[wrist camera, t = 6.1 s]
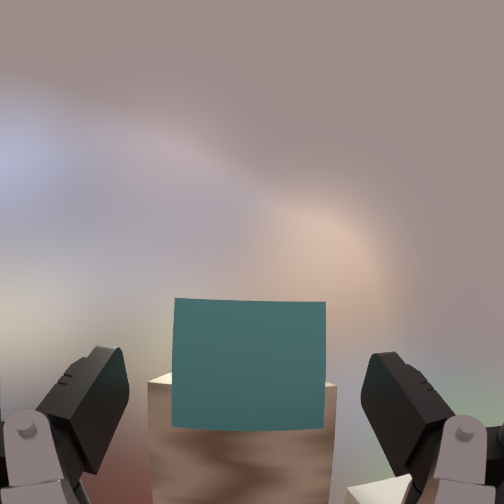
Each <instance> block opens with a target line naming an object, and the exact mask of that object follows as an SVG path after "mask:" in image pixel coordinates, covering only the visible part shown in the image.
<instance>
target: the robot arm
mask: <svg viewBox="0 0 504 504" xmlns="http://www.w3.org/2000/svg"><path fill="white" fill-rule="evenodd" d="M128 399H129V383H128V379H127V374H126V369H125V364H124V358H123V353H122V351H121V349H120V348H118V347H111V346H104V345H97V346H96V347H95V348H94V349H93V351H92V352H91V353H90V355H89V356H88V357H87V358H85V357H83V358H81V359H79V360H78V361H76V362H74V363H73V364H71V365H70V367H69V368H68V369H67V370H66V371H65V373H64V376H61V378H60V379H59V380H58V383H56V384H55V385H54V386H53V388H52V389H51V390H50V391H49V393H48V394H47V395H46V397H45V398H44V399H43V401H42V402H41V403H40V405H39V406H38V407H37V409H36V410H22V411H18V412H16V413H14V414H12V415H11V416H10V417H9V418H8V419H7V420H6V422H3V421H1V411H0V504H91V503H90V501H89V499H88V497H87V494H86V492H85V490H84V487H83V485H82V482H81V481H80V477H81V475H82V472H83V471H84V472H87V473H91V474H94V475H97V472H98V470H99V467H100V465H101V463H102V460H103V458H104V456H105V453H106V451H107V449H108V446H109V444H110V442H111V439H112V437H113V434H114V432H115V430H116V428H117V426H118V423H119V421H120V419H121V417H122V414H123V412H124V410H125V408H126V406H127V403H128ZM361 405H362V408H363V410H364V412H365V414H366V416H367V418H368V420H369V422H370V424H371V426H372V428H373V430H374V432H375V434H376V437H377V439H378V441H379V443H380V445H381V447H382V449H383V451H384V453H385V455H386V457H387V460H388V462H389V464H390V466H391V468H392V470H393V472H394V474H395V476H396V477H399V476H403V475H406V474H410V475H411V477H412V479H411V481H410V482H409V484H408V486H407V489H406V492H405V494H404V497H403V500H402V502H401V504H504V423H503V425H502V426H497V427H486V428H485V427H484V425H483V424H482V423H481V422H480V421H479V420H477V419H476V418H474V417H471V416H468V415H455V414H454V412H453V411H452V410H451V409H450V407H449V406H448V405H447V404H446V403H445V401H444V400H443V399H442V397H441V396H440V395H439V394H438V393H437V391H436V390H434V388H433V387H432V385H431V384H430V383H428V381H427V379H426V378H425V377H424V376H423V375H422V373H421V372H420V371H418V370H416V369H415V368H413V367H412V366H410V365H408V364H405V363H404V361H403V360H402V359H401V358H400V357H399V356H398V354H397V353H396V352H385V353H375V354H373V355H372V356H371V358H370V361H369V365H368V368H367V372H366V376H365V379H364V383H363V387H362V391H361Z"/></svg>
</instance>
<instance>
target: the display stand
mask: <svg viewBox="0 0 504 504" xmlns="http://www.w3.org/2000/svg"><path fill="white" fill-rule="evenodd" d="M336 397H337V386H336V385H333V384H331V383H328V382H326V381H325V409H324V428H318V429H305V430H287V431H223V430H205V429H192V428H181V427H172V372H171V373H168V374H166V375H163V376H161V377H159V378H156V379H153V380H151V381H148V436H149V456H150V472H151V484H152V495H153V504H328V500H329V491H330V483H331V473H332V462H333V450H334V437H335V419H336Z"/></svg>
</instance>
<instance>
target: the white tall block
mask: <svg viewBox="0 0 504 504" xmlns="http://www.w3.org/2000/svg"><path fill="white" fill-rule="evenodd" d="M411 479H412V477H411V475H410V474H406V475H403V476H399V477H394V478H390V479H386V480H382V481H377V482H373V483H368V484H364V485H359V486H353V487H348V488H346V493H345V501H344V504H401V502H402V500H403V497H404V494H405V492H406V489H407V486H408V484H409V482H410V481H411Z"/></svg>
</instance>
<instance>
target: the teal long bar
mask: <svg viewBox="0 0 504 504" xmlns="http://www.w3.org/2000/svg"><path fill="white" fill-rule="evenodd" d="M174 307H175V308H174V326H173V349H172V427H181V428H192V429H205V430H223V431H287V430H305V429H318V428H324V409H325V378H326V305H325V302H276V301H233V300H207V299H186V298H175V306H174Z"/></svg>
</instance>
